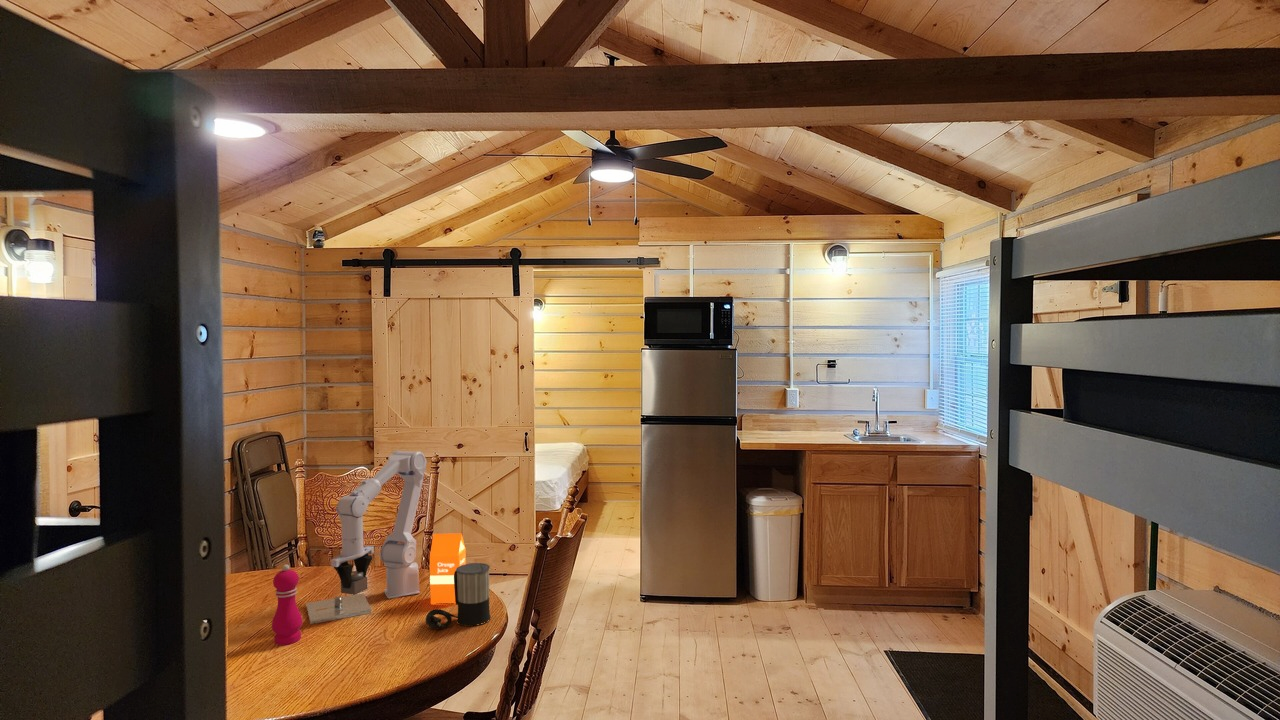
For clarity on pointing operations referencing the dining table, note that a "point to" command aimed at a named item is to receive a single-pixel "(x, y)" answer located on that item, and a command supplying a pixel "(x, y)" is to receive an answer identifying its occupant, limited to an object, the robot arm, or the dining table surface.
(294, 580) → the pepper mill
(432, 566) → the orange juice
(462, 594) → the milk frother
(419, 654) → the dining table surface
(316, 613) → the flat square panel
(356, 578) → the knob
